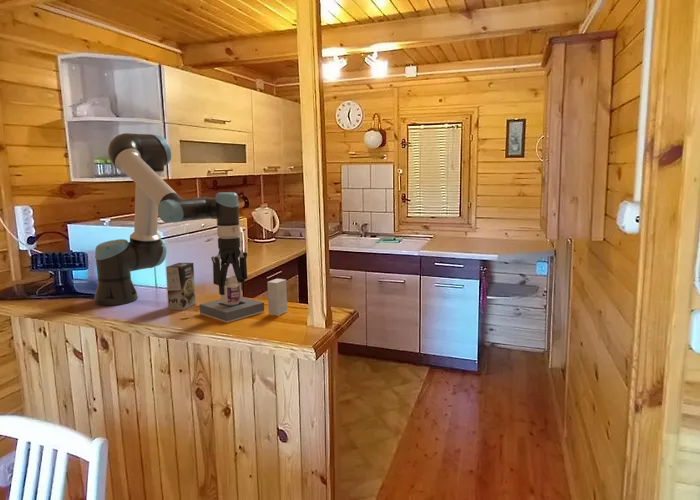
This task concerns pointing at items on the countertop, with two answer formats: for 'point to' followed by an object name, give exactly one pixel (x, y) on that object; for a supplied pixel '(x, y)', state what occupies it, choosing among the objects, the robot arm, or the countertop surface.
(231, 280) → the pill bottle
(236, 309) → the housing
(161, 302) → the countertop surface
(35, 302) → the countertop surface
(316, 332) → the countertop surface
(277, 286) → the skincare box
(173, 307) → the coffee box
